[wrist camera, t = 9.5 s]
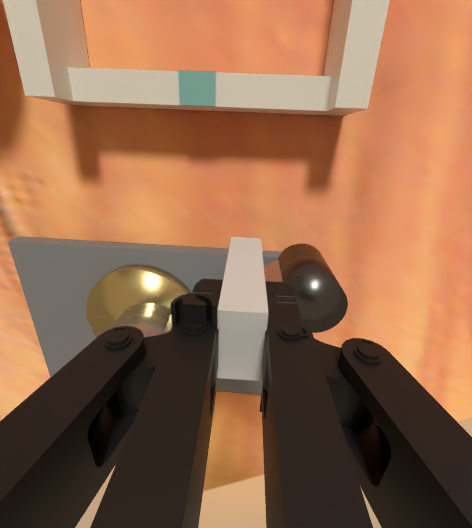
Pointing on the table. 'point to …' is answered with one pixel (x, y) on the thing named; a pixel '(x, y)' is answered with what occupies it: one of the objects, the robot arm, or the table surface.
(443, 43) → the table surface
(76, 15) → the frame
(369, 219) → the table surface
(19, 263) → the stand board
